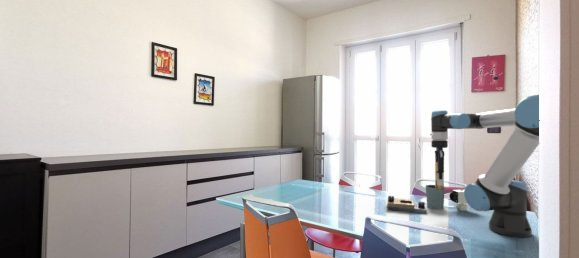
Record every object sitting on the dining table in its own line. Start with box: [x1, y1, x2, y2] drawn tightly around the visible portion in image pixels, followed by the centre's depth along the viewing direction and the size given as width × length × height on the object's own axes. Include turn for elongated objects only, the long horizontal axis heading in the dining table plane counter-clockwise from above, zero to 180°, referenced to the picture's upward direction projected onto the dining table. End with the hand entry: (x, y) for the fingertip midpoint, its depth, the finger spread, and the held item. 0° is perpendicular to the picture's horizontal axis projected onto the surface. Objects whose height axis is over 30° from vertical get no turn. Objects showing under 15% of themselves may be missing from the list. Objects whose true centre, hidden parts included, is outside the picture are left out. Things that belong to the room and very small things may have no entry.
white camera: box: [449, 188, 468, 212], centre depth 157 cm, size 6×12×12 cm, turn 94°
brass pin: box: [434, 162, 445, 190], centre depth 147 cm, size 4×4×14 cm
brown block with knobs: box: [386, 195, 428, 215], centre depth 160 cm, size 12×20×6 cm, turn 70°
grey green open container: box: [425, 184, 446, 210], centre depth 163 cm, size 10×10×12 cm
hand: (439, 184), depth 147 cm, fingers closed on brass pin, 4 cm apart
